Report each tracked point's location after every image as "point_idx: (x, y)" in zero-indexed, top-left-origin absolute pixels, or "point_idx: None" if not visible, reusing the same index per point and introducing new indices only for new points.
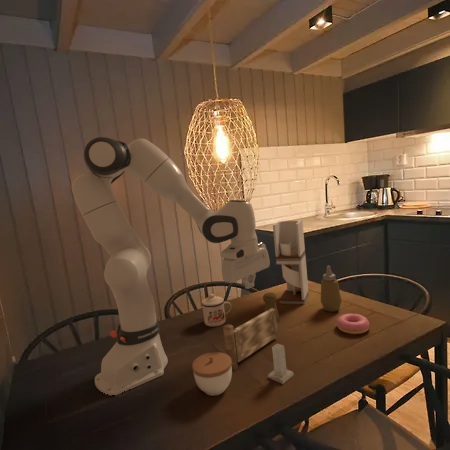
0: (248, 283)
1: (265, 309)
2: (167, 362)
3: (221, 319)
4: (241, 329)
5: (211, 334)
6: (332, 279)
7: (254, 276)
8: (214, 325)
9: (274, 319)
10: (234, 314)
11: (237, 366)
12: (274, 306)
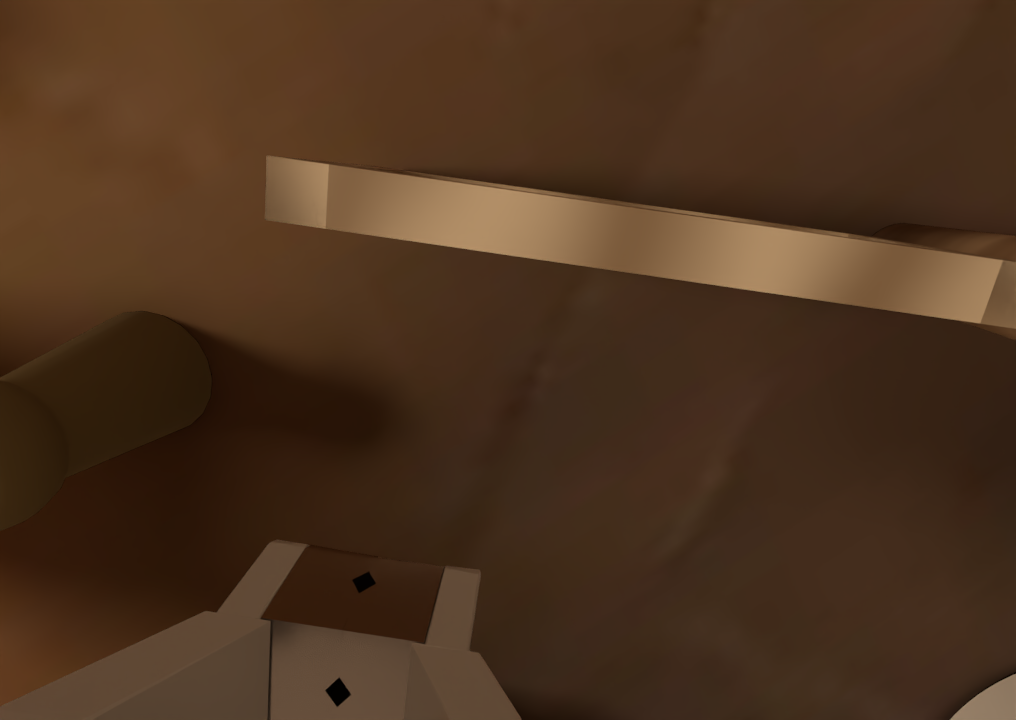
0: (461, 658)
1: (122, 441)
2: (1003, 679)
3: None
4: (942, 252)
5: (559, 651)
6: None
7: (82, 716)
8: None
9: (352, 165)
10: None
11: (893, 226)
12: (48, 369)
